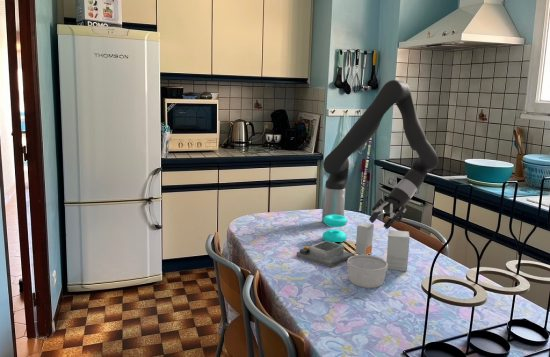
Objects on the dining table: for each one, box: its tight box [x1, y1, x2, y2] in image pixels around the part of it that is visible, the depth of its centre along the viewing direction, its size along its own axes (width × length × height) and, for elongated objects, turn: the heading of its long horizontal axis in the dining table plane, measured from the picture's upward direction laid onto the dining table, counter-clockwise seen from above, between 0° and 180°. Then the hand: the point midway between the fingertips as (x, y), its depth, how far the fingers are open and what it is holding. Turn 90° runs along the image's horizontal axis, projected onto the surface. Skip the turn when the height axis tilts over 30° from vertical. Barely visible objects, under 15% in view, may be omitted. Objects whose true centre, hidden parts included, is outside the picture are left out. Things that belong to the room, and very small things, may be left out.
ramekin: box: [346, 254, 388, 289], centre depth 154 cm, size 13×13×7 cm
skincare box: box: [354, 221, 375, 255], centre depth 178 cm, size 6×4×12 cm
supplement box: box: [386, 229, 411, 272], centre depth 166 cm, size 7×7×13 cm
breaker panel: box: [296, 240, 354, 269], centre depth 175 cm, size 16×14×4 cm
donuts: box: [322, 215, 348, 243], centre depth 194 cm, size 10×10×10 cm
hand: (377, 224), depth 179 cm, fingers open, 8 cm apart
